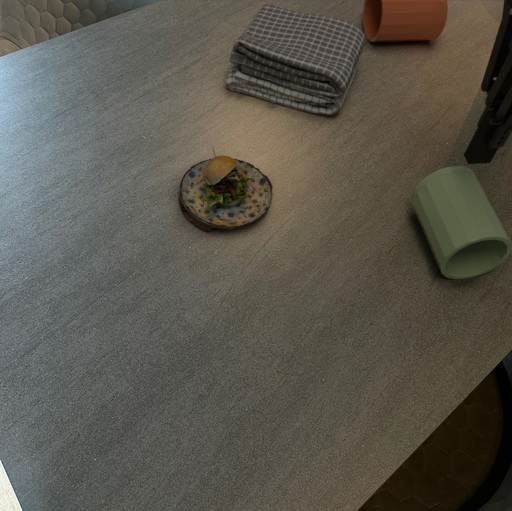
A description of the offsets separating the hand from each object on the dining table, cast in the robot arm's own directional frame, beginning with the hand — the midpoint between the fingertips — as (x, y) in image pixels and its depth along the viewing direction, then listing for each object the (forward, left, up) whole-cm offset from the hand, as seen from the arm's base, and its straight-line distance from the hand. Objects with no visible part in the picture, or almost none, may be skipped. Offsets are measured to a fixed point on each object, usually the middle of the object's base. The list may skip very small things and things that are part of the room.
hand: (476, 158), depth 71 cm
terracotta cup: (-13, -41, -8) cm, 44 cm away
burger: (+27, -7, -13) cm, 31 cm away
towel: (+13, -31, -13) cm, 36 cm away
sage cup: (0, -3, -8) cm, 9 cm away
